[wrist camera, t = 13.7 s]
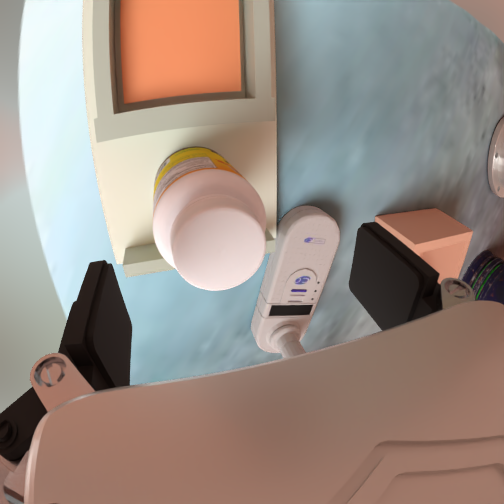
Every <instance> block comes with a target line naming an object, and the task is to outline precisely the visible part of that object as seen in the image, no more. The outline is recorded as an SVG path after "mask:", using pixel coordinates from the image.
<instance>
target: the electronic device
mask: <svg viewBox="0 0 504 504" xmlns="http://www.w3.org/2000/svg"><path fill="white" fill-rule="evenodd" d="M274 239H275V252H272V253H270V255H269V259H268V263H267V267H266V270H265V274H264V278H263V282H262V285H261V289H260V293H259V296H258V300H257V304H256V307H255V311H254V315H253V318H252V322H251V330H252V333H253V335H254V338H255V340H256V342H257V344H258V346H259V347H260V348H261V349H262V350H264V351H267V352H271V353H278V352H281V354H282V356H283V358H288V357H292V356H296V355H300V354H304V353H306V352H305V350H304V349H303V347H302V345H301V344H300V341H301V340H302V338H303V336H304V335H305V333H306V331H307V328H308V326H309V323H310V321H311V318H312V316H313V313H314V310H315V308H316V305H317V302H318V300H319V297H320V295H321V292H322V290H323V287H324V284H325V281H326V279H327V276H328V273H329V270H330V268H331V265H332V262H333V259H334V256H335V253H336V251H337V248H338V245H339V241H340V232H339V227H338V225H337V222H336V221H335V220H334V219H333V218H332V217H331V216H329V215H328V214H327V213H325V212H324V211H323V210H321V209H320V208H317V207H315V206H307V205H306V206H299V207H296V208H293V209H291V210H290V211H289V212H288V213H287V214H286V215H285V216H284V217H283V218H282V219H281V221H280V222H279V224H278V226H277V229H276V238H274Z"/></svg>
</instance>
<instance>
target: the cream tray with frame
mask: <svg viewBox="0 0 504 504" xmlns="http://www.w3.org/2000/svg"><path fill="white" fill-rule="evenodd" d="M120 2H121V0H83V19H82V44H83V71H84V86H85V98H86V109H87V118H88V126H89V134H90V141H91V148H92V154H93V160H94V166H95V172H96V177H97V183H98V188H99V193H100V197H101V202H102V207H103V211H104V216H105V220H106V224H107V228H108V232H109V236H110V240H111V244H112V248H113V252H114V255H115V259H116V262H117V264H122V263H123V268H124V272H125V275H126V277H132V276H138V275H144V274H149V273H155V272H161V271H167V270H173V269H175V268H174V267H173V266H171V265H170V264H169V263H168V262H167V261H166V260H165V259H164V258H163V256H162V255H161V253H160V252H159V250H158V248H157V246H156V243H155V240H154V235H153V194H154V182H155V177H156V174H157V171H158V169H159V167H160V166H161V164H162V163H163V161H164V160H165V159H166V158H167V157H168V156H169V155H171V154H172V153H174V152H175V151H177V150H179V149H182V148H185V147H191V146H200V147H206V148H209V149H212V150H214V151H215V152H217V153H218V154H220V155H221V156H222V157H224V158H225V159H226V160H227V161H228V162H229V163H230V164H231V165H232V166H233V167H234V168H235V169H236V170H237V171H238V172H239V173H240V174H241V175H242V176H243V177H244V178H245V179H246V180H247V181H248V182H249V183H250V184H251V185H252V186H253V187H254V189H255V190H256V191H257V193H258V194H259V196H260V198H261V200H262V202H263V204H264V208H265V212H266V230H265V236H266V252H265V254H266V253H272V252H275V239H274V238H276V220H277V117H276V58H275V23H274V0H239V29H240V62H241V91H232V92H215V93H202V94H192V95H182V96H174V97H166V98H158V99H152V100H145V101H139V102H133V103H128V104H124V96H123V83H122V66H121V38H120Z"/></svg>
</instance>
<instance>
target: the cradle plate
mask: <svg viewBox="0 0 504 504" xmlns="http://www.w3.org/2000/svg"><path fill="white" fill-rule="evenodd" d="M120 38H121V66H122V83H123V96H124V104H128V103H133V102H139V101H145V100H152V99H158V98H166V97H174V96H182V95H192V94H202V93H215V92H232V91H241V62H240V29H239V0H121V2H120Z"/></svg>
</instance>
